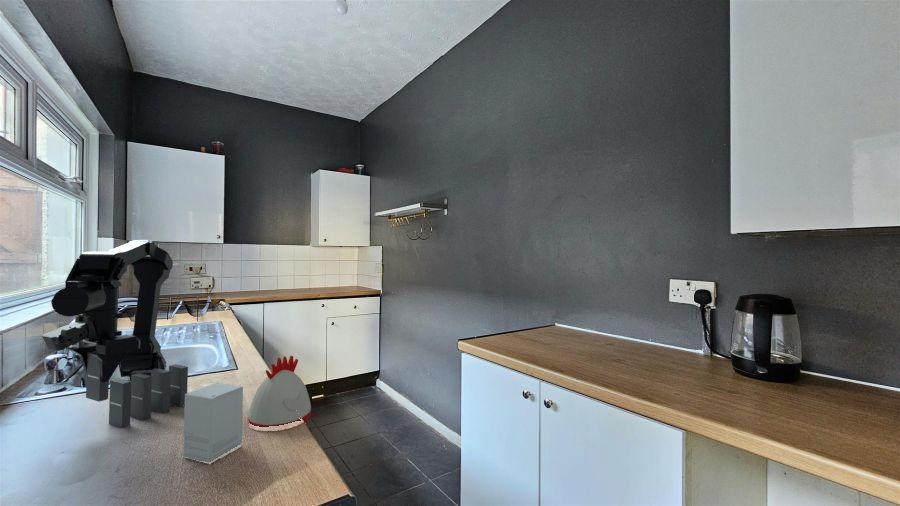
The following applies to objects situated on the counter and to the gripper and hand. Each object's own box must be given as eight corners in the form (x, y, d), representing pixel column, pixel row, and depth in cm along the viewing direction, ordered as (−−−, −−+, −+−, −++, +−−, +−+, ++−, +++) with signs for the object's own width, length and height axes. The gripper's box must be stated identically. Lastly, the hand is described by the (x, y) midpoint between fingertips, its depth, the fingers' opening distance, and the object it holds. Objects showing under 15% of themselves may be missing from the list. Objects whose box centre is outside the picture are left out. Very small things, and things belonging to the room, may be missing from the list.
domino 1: (95, 395, 82) (97, 350, 82) (108, 398, 80) (110, 353, 81) (85, 397, 81) (87, 352, 81) (98, 401, 79) (100, 355, 79)
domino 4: (157, 407, 94) (158, 368, 94) (169, 411, 92) (170, 371, 92) (149, 410, 92) (150, 370, 92) (162, 413, 91) (163, 373, 91)
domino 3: (138, 414, 90) (139, 373, 90) (150, 417, 88) (152, 376, 88) (129, 416, 88) (131, 375, 89) (142, 420, 87) (144, 378, 87)
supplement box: (243, 447, 76) (244, 386, 76) (209, 466, 69) (211, 398, 69) (216, 440, 78) (218, 381, 78) (181, 458, 71) (183, 393, 71)
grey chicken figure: (322, 415, 92) (324, 355, 92) (270, 438, 80) (272, 369, 80) (288, 402, 99) (290, 347, 99) (236, 421, 87) (238, 358, 88)
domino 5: (174, 401, 98) (175, 364, 98) (187, 404, 96) (188, 366, 96) (167, 404, 96) (168, 365, 96) (180, 407, 94) (181, 368, 95)
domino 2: (117, 420, 86) (118, 378, 86) (130, 425, 84) (131, 381, 84) (108, 424, 85) (109, 380, 85) (121, 428, 83) (122, 383, 83)
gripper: (26, 310, 77) (23, 385, 77) (75, 318, 70) (73, 400, 70) (93, 304, 87) (91, 370, 87) (142, 310, 80) (140, 382, 80)
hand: (98, 380), depth 81 cm, fingers closed on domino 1, 5 cm apart
